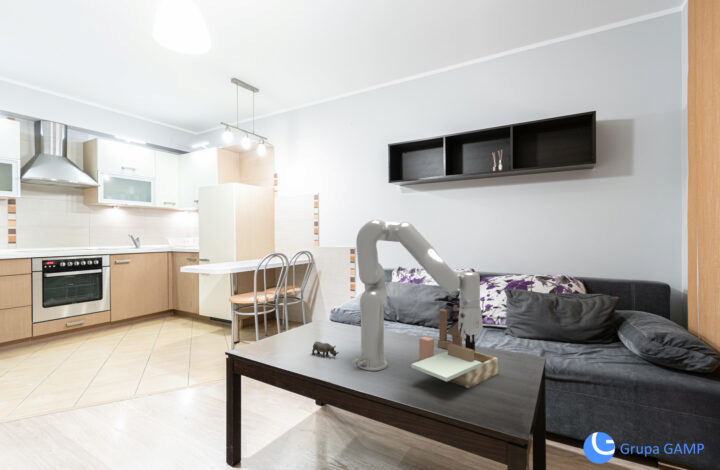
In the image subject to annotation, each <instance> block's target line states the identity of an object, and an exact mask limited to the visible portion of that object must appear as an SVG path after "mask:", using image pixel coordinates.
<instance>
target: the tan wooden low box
mask: <svg viewBox="0 0 720 470" xmlns="http://www.w3.org/2000/svg"><path fill="white" fill-rule="evenodd" d="M474 360H476V361H479V362H482V366H480V367H478V368H475V369H473V370H471V371H469V372H467V373H464V374H462V375H460V376H458V377H455V378H453V379H451V380H449V381H448V382H450V383H451V382H452V383H453V384H457V385H459V386H462V387H464V388H466V389H470V388H473V387H474V386H476V385H478V384H480V383H482V382H484V381H486V380H488V379H490V378H491V377H492V378H493V377H494V376H496V375H497V374H498V375H499V373H498V372H499V371H498V369H499V368H498V364H499V363H498V362H499V361H498V360H499V358H498V357H495V356H492V355H489V354H485V353H482V352H478V351H475V352H474Z"/></svg>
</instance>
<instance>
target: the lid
mask: <svg viewBox="0 0 720 470" xmlns="http://www.w3.org/2000/svg"><path fill="white" fill-rule="evenodd" d="M410 365H411V368H412V369H415V370H417V371H419V372H422V373H424V374H427V375H429V376H432V377H435V378H437V379H439V380H442V381H444V382H450V381H449V380H451V379H453V378H455V377H458V376H460V375H462V374H464V373H467V372H469V371H471V370H473V369H475V368H478V367H480V366H482V362H479V361H476V360H474V350H472V349H469V348H465V346H463V345H462V346H459V345H455V344H452V343H450V344H448V349H447V351H444V352H441V353H439V354H434V356H432V357H430V358H427V359H424V360H421V361H415V362H413V363H411V364H410Z"/></svg>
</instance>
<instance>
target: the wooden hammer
mask: <svg viewBox="0 0 720 470" xmlns="http://www.w3.org/2000/svg"><path fill="white" fill-rule="evenodd" d="M438 312H439V314H438V315H439V316H438V318H439V321H438V324H439V325H438V326H439V327H438V328H439V330H438V331H439V333H438V334H439V335H438V337H439V339H437V347H438V348H440V349H444V350H448V344H450V343H452V344H455V345H459V346H462V347H463V338H461V333H459V328H458V322H456V323H455V324H454V325H453V326H452V327H451V328H450V329H448V311H447V309H445V308H441V309H439V311H438ZM448 335H449V336H451V339H448Z"/></svg>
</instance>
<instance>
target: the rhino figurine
mask: <svg viewBox="0 0 720 470" xmlns="http://www.w3.org/2000/svg"><path fill="white" fill-rule="evenodd" d="M335 348H336V345H334V346H333V345H331V344H330V343H328V342H321V341H315V342H314V343H313V345H312V351H311V355H313V356H315V355H316V354H317V355H321V354H322V355H321V357H322V358H325V357H330V355H332V356H333V357H336V356H337V355H339V352H340V351H337V350H335ZM315 352H316V353H315Z"/></svg>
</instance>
